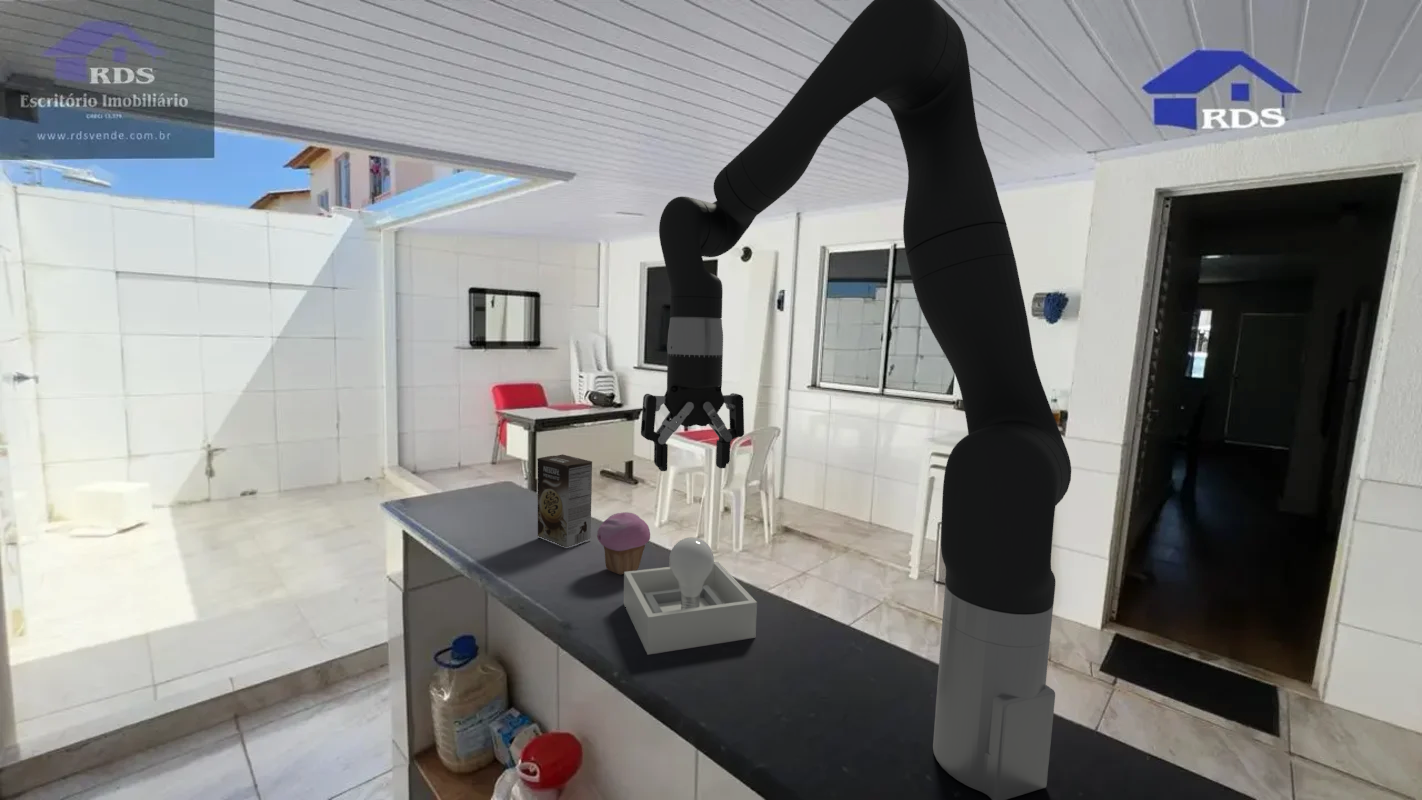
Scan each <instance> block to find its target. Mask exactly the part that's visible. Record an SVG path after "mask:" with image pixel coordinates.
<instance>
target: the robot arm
mask: <svg viewBox="0 0 1422 800" xmlns="http://www.w3.org/2000/svg"><path fill="white" fill-rule="evenodd" d="M968 55H969V54H968V49H967V44H966V41H965V38H964V34H963V32H962V28H961V27H960V26H959V25H958V23H957V21H956V20H955V19H954V18H953V17H952V16H951V14H949V13H948V12H947V11H946V10H945V9H944V8H943V6H941V5H940V4H939V3H938V2H937V1H936V0H872V1H871V2H870V3H869V4H868V5H867V6H866V7H865V8H864V9H863V10H862V11H861V12H860V13H859V15H858V16H857V17H856V18H855V19H854V20H853V21H852V23H851V24H850V25H849V26H848V27H847V29H846V30H845V32H843V34H842V35H841V37H839V39H838V40H837V41H836V43H835V44H834V45H833V46H832V48H831V49H830V50H829V51H828V52H827V54H826V56H824V58H823V59H822V60H821V62H820V63H819V64H818V65H817V66H816V68H815V69H814V70H813V71H812V73H811V74H810V75H809V77H807V79H806V80H805V81H804V83H803V84H802V85H801V87H800V88H799V89H798V90H797V91H796V92H795V94H794V96H792V98H791V99H790V100H789V101H788V103H787V104H786V105H785V107H784V108H783V109H782V110H781V111H780V113H779V114H778V115H777V116H776V117H775V118H774V119H773V120H772V121H771V122H770V124H769V125H768V126H766V128H765V129H764V130H763V131H762V132H761V133H759V135H758V136H756V138H755V139H753V140H752V141H751V143H749V144H748V145H747V146H745V148H744V149H742V150H741V151H740V152H739V153H738V154H737V155H736V156H735V157H734V158H733V159H732V160H731V161H730V162H728V164H726V165H725V166H724V167H723V168H722V169H721V170H720V171H719V173H718V174H717V175H716V176H715V179H714V181H713V193H714V196H715V199H716V201H714V202H712V203H711V202H708V201H704V200H700V199H697V198H693V197H689V196H678V197H674V198H672V199H671V200H670V201H669V202H668V203H667V204H666V205H665V207H664V209H663V211H662V213H661V215H660V219H659V225H658V226H659V227H658V229H659V231H658V233H659V242H660V247H661V252H662V257H663V260H664V265H665V270H666V274H667V278H668V282H669V287H670V306H669V308H670V309H669V312H670V314H669V327H668V331H667V342H666V350H667V357H666V358H667V363H666V364H667V365H666V374H667V375H666V392H665V393H664V395H652V394H650V393H645V394H644V395H643V399H642V413H641V426H640V427H641V428H640V435H641V436H642V437H643V438H644V439H646V440H647V441H651V442H653V448H654V449H653V452H654V453H653V457H654V458H653V462H654V465H655V466H656V467H657V468H658V470H659V471H660V472H667V471H668V455H669V454H668V451H669V450H668V448H669V447H668V443H667V442H668V440H669V439H670V438H671V436H672V435H673V433H675V432H676V431H677V430H678V429H679V428H680V426H683V427H685V428H686V427H688V428H689V427H693V426H699V427H707V425H708V426H709V427H710V428H712V430H713V432H714V433H715V434H716V435H717V437H718V439H716V448H715V450H716V451H715V454H716V456H715V465H716V467H717V468H719V469H726V468H727V465H728V464H729V463H730V461H731V442H732V441H733V440H734V439H736V438H741V437H744V435H745V416H744V415H745V413H744V412H745V411H744V396H743V395H741V394H738V393H734V392H733V393H730V394H726V395H723V391H722V386H723V357H724V356H723V355H724V332H723V331H724V329H723V319H722V317H723V294H724V293H723V282H722V280H721V279H720V278H719V276H717V275H715V274H713V273H711V272H710V271H709V270H708V269H706V266H705V263H704V260H703V258H704V257H705V258H716V257H718V256H719V257H720V256H721V255H723V254H725V253H727V252H729V251H730V250H732V249H733V248H734V247H735V246H736V245H737V243H738V242H739V241H740V240H741V238H742V237H743V235H744V234H745V233H746V231H747V230H748V229H749V228H750V226H751V224H752V223H753V222H754V220H755V218H756V217H757V216H758V215H759V214H761V213H762V212H763V211H764V210H766V209H767V208H768V207H770V206H771V205H772V204H774V203H775V202H776V201H777V200H779V199H780V198H781V197H782V196H784V195H785V194H786V193H787V192H789V191H790V190H791V189H792V187H793V186H794V185H796V183H797V182H798V181H799V180H800V179H801V177H802V176H803V175H804V173H805V172H806V170H807V169H808V167H809V166H810V163H811V162H812V159H813V158H814V156H815V154H816V152H817V150H819V149H818V148H820V145H821V144H822V142H823V141H824V140H825V138H826V137H827V136H828V134H829V133H830V132H831V131H832V129H834V127H836V126H837V125H838V123H839V122H841V121H842V120H843V119H845V117H846V116H848V115H849V114H850V113H852V112H853V111H855V110H856V109H858V108H860V106H862V105H864V104H865V103H867V102H869V101H870V100H872V99H874V98H875V99H877V100H879V101H880V102H882V103H884V104H885V105H886V106H887V107H888V108H889V109H890V111H891V113H892V116H893V119H894V121H895V123H896V126H897V129H898V132H899V136H900V139H901V143H902V145H903V149H904V150H903V151H904V154H905V158H906V162H907V163H906V164H907V172H908V177H907V191H906V197H905V203H904V204H905V205H904V211H903V212H904V213H903V225H902V232H903V234H902V235H903V244H904V250H905V255H906V261H907V263H908V264H907V265H908V269H909V272H910V277H911V281H912V285H913V289H914V292H915V296H916V299H917V302H918V305H919V308H920V310H921V312H922V314H923V316H924V319H925V320H926V323H927V325H928V327H929V329H930V331H931V333H932V335H934V338H935V340H936V342H937V344H938V345H939V347H940V349H941V350H942V352H943V354H944V355H945V357H946V359H947V361H948V362H949V364H950V366H951V369H952V371H953V373H954V375H955V378H956V380H957V384H958V387H959V392H960V395H961V400H962V404H963V409H964V416H965V419H966V426H967V435H966V436H964V437H962V438H961V440H959V441H958V442H957V443H956V444H955V445H954V446H953V448H952V450H951V451H950V454H949V456H948V459H947V461H946V466H945V470H944V475H943V483H942V501H941V502H942V504H941V529H940V530H941V533H940V551H941V558H942V562H943V563H944V566H945V583H944V584H945V585H944V596H943V597H944V598H943V610H942V620H941V635H940V647H939V648H940V650H939V661H938V674H937V687H936V699H935V700H936V701H935V715H934V728H933V741H932V750H933V751H932V752H933V754H934V757H935V759H936V761H937V762H938V763H939V766H940V767H941V768H942V769H943V770H944V771H945V772H946V773H947V774H949V776H951V777H953V778H954V779H955V780H957V781H958V782H959V783H962V784H963V785H965V786H967V787H969V788H971V789H973V790H976V791H979V792H980V793H983V794H985V795H987V797H989V798H990V799H991V800H1009V799H1013V798H1016V797H1020V796H1022V795H1025V794H1029V793H1032V792H1035V791H1038V790H1042V789H1045V788H1046V787H1047V786H1048V785H1047V783H1048V775H1049V772H1048V771H1049V763H1050V753H1051V742H1052V734H1053V733H1052V732H1053V724H1054V723H1053V722H1054V711H1055V702H1056V692H1055V690H1054V689H1053V688H1051V687H1050V686H1048V685H1047V684H1046V683H1047V673H1048V663H1049V662H1048V661H1049V651H1050V644H1051V643H1050V642H1051V633H1052V622H1053V612H1054V602H1055V593H1056V577H1055V573H1054V572H1053V570H1052V549H1053V548H1052V547H1053V536H1054V525H1055V524H1054V523H1055V511H1056V506H1057V505H1058V504H1059V503H1060V502H1061V501H1062V500H1063V498H1064V497H1065V495H1066V494H1067V492H1068V490H1069V487H1070V484H1071V480H1072V464H1071V459H1070V455H1069V452H1068V450H1067V447H1066V444H1065V442H1064V439H1063V437H1062V434H1061V431H1060V429H1059V426H1058V424H1057V421H1056V419H1055V416H1054V414H1053V410H1052V408H1051V406H1050V403H1049V400H1048V397H1047V395H1046V392H1045V389H1044V385H1043V384H1042V381H1041V377H1040V374H1039V371H1038V367H1037V364H1036V360H1035V355H1034V349H1033V345H1032V344H1033V343H1032V339H1031V331H1030V327H1029V319H1028V314H1027V311H1026V305H1025V300H1024V295H1023V291H1022V287H1021V280H1020V276H1019V271H1018V266H1017V261H1016V257H1015V253H1014V250H1013V249H1014V248H1013V244H1012V241H1011V236H1010V233H1009V228H1008V226H1007V222H1006V221H1007V220H1006V218H1005V215H1004V211H1003V209H1002V204H1001V201H1000V198H999V195H998V191H997V187H996V185H995V184H996V183H995V180H994V178H993V174H992V170H991V167H990V165H989V161H988V159H987V156H986V153H985V150H984V147H983V145H982V144H983V143H982V140H981V137H980V133H979V129H978V124H977V117H976V109H975V104H974V95H973V88H972V87H973V86H972V80H971V71H970V70H971V69H970V61H969V56H968ZM724 404H725V408H726V409H728V410H729V414H728V416H729V418H728V419H729V428H727V427H726V424H725V422H724V421H723V419H722V418H721V417H720V415H719V411H720V410H721V409H722V407H723V405H724ZM663 405H664V406H665V408H666V410H667V411H668V414H667V415H666V416H665V418H664V419H663V420H662V422H661V425H660V426H659V427H658V429H657V430H656V431H655V427H656V426H655V424H656V413H657V412H659V411H660V409H661V406H663Z"/></svg>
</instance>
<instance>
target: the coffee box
mask: <svg viewBox="0 0 1422 800" xmlns="http://www.w3.org/2000/svg"><path fill="white" fill-rule="evenodd" d="M536 461H537V537H538V536H539V537H542V538H544V539H547V540H549V541H552V542H555V543H557V544H559V545H561V546H564V547H569V546H572V545H575V544H578V543H580V542H583V541H585V540H588V539H590V538H591V537H592V533H591V532H592V530H591V529H592V492H593V491H592V490H593V489H592V486H593V483H592V482H593V461H591V460H588V459H584V458H580V457H575V456H570V455H566V454H564V453H563V454H558V455H549V456H545V457H544V456H542V457H538V458H537V460H536Z"/></svg>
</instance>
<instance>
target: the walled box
mask: <svg viewBox="0 0 1422 800" xmlns="http://www.w3.org/2000/svg"><path fill="white" fill-rule="evenodd" d="M681 600H682V599H681V592H680V589H679V584H678V581H677V580H676V578H675V577H674V575H673V573H672V572H671V569H670V566H665V567H654V568H645V569H637V570H636V571H627V572H624V574H623V606H624V608H625V607H626V608H625V609H626V612H627V614H628V616H629V618H630V621H631V623H632V624H633V626H634V629H635V631H636V634H637V635H638V638H639V639H640V641H641V645H642V646H643V648H644V650H645V652H646V655H648V656H649V655H656V654H661V653H668V652H673V651H680V650H685V649H693V648H698V647H705V646H712V645H717V644H724V643H731V642H736V641H742V640H748V639H749V640H750V639H754V638H756V634H757V633H756V631H757V611H758V610H757V609H758V601H756V600H755V599H754V598H753V596H752V595H751V594H750V593H749V592H748V591H747V590H746V589H745V588H744V587H743V586H742V584H740V583H739V582H738V581H737V580H736V579H735V578H734V577H733V576H732V574H731V573H729V572H728V570H726V568H724V567H723V565H722V564H721V563H720V562H719V561H714V565H713V569H712V571H711V573H710V575H709V576H708V578H707V579H706V580H705V582H704V584H703V588H702V591H701V593H700V607H697V608H690V609H683V610H681V603H682V602H681Z"/></svg>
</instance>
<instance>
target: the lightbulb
mask: <svg viewBox="0 0 1422 800" xmlns="http://www.w3.org/2000/svg"><path fill="white" fill-rule="evenodd" d="M669 553H670V554H669V557H668V564H669V565H668V567H670V569H671V572H672V573H673V575H674V577H675V578H676V580H677V581H678V584H679V589H680V592H681V599H682V600H681V602H682V603H681V610H683V609H690V608H697V607H700V593H701V591H702V588H703V584H704V582H705V580H706V579H707V578H708V576H709V575H710V573H711V571H712V569H713V565H714V562H715V556H714V553H713V551H712V548H711V546H709V544H708V543H707V542H706V541H704V540H703V539H701V538H698V537H686V538H682V539H681V540H679V541H677V542H676V543H675V544H674V545H673V547H672V549H671V551H670V552H669Z"/></svg>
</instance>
